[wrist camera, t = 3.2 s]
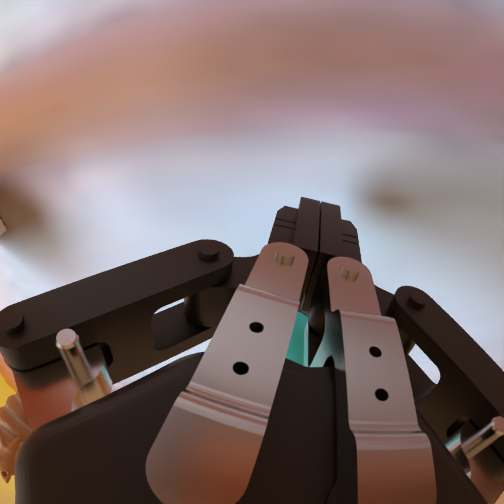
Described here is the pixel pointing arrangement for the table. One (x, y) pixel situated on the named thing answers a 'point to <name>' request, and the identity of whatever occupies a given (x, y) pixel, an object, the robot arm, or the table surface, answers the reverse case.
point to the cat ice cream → (12, 434)
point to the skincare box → (2, 227)
